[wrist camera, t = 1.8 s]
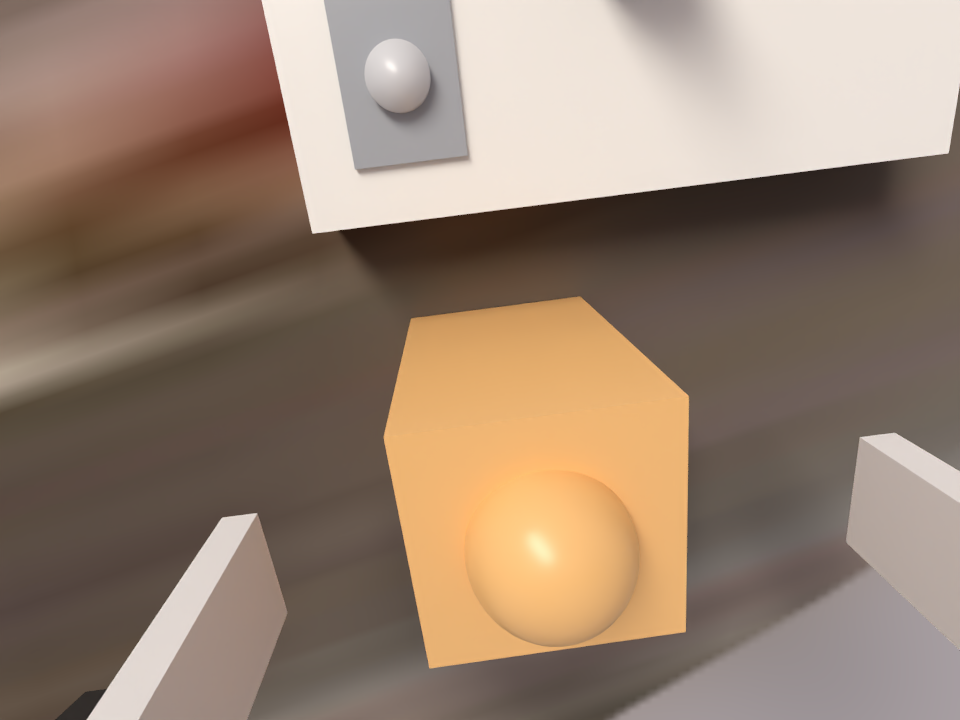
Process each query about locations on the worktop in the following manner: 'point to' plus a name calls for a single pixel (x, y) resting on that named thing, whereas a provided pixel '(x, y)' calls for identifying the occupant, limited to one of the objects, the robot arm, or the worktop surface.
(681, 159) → the block
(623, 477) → the orange cube with dome
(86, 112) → the worktop surface
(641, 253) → the worktop surface
